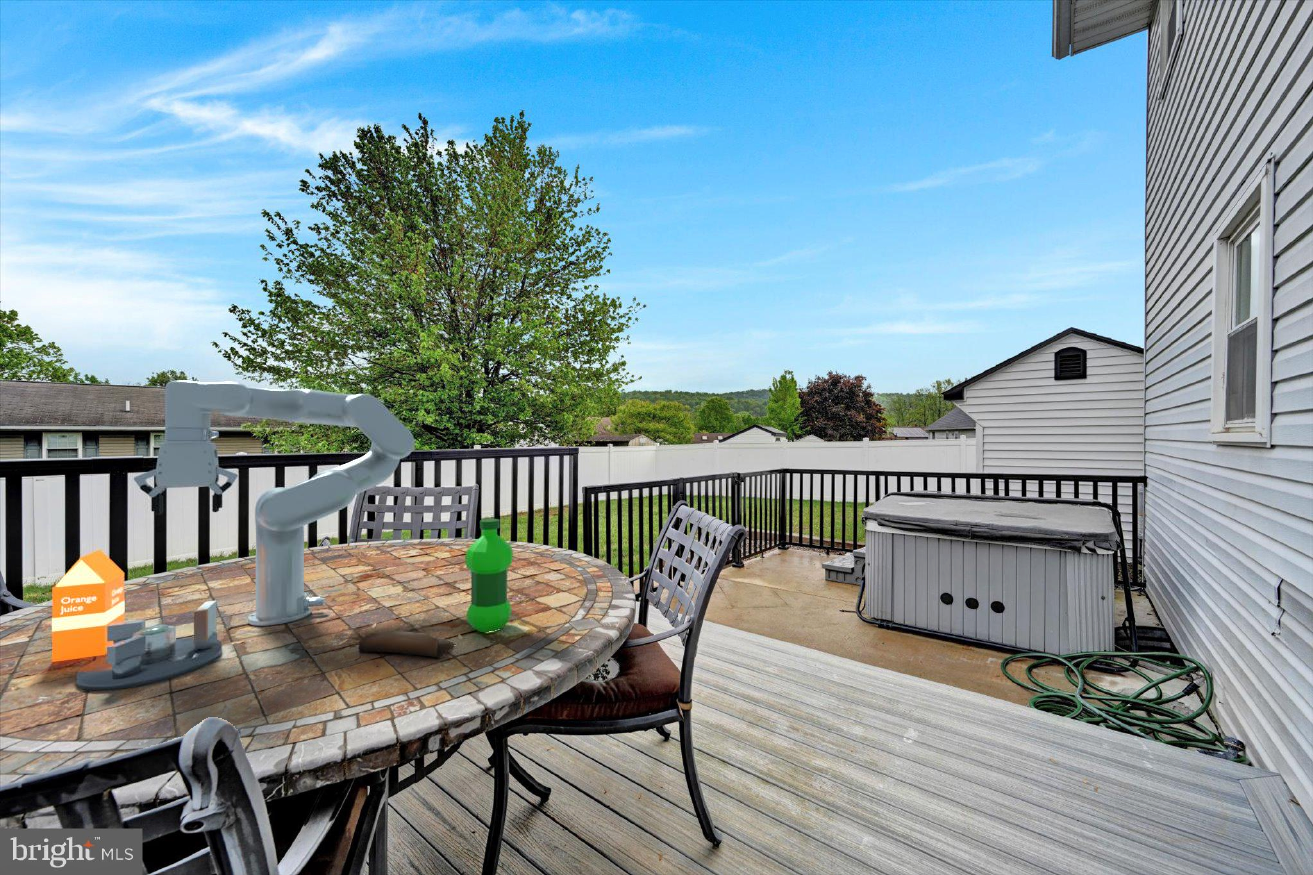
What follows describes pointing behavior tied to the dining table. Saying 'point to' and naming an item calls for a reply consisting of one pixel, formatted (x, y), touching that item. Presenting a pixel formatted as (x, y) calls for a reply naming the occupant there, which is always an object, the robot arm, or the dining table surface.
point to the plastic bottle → (489, 579)
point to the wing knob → (205, 625)
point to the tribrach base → (149, 671)
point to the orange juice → (86, 607)
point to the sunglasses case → (405, 643)
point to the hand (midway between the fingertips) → (187, 513)
